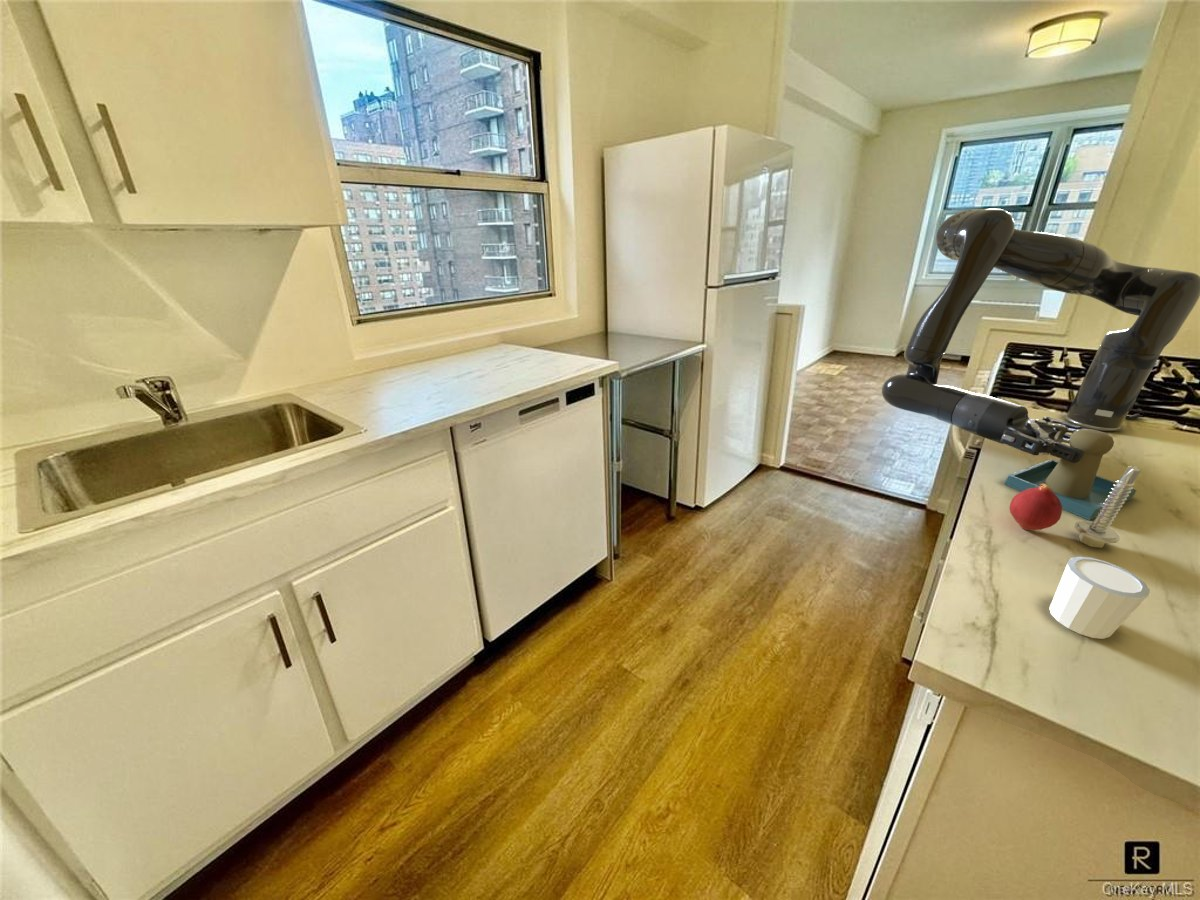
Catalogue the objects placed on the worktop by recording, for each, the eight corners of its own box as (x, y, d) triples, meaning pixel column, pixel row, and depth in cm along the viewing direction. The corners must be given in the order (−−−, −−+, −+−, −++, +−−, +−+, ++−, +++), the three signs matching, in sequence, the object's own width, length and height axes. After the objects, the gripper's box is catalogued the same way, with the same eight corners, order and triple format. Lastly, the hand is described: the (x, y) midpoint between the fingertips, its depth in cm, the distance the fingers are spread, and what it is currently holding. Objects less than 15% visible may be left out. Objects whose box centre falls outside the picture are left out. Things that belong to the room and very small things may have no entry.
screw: (1102, 556, 68) (1061, 537, 72) (1119, 547, 70) (1079, 529, 74) (1150, 477, 62) (1103, 461, 66) (1168, 470, 64) (1121, 454, 68)
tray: (1046, 467, 92) (1051, 458, 91) (1131, 499, 82) (1137, 489, 81) (1004, 484, 86) (1008, 475, 85) (1089, 520, 76) (1095, 510, 75)
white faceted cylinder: (1028, 600, 61) (1052, 557, 57) (1078, 597, 61) (1104, 554, 58) (1080, 645, 55) (1111, 599, 51) (1135, 641, 55) (1169, 595, 52)
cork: (1098, 500, 81) (1131, 441, 76) (1056, 496, 82) (1087, 438, 77) (1074, 482, 86) (1104, 426, 81) (1036, 478, 87) (1063, 423, 82)
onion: (1039, 522, 76) (1062, 478, 72) (1057, 544, 71) (1082, 498, 67) (996, 515, 77) (1016, 472, 74) (1010, 536, 73) (1032, 490, 69)
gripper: (973, 405, 88) (1083, 440, 75) (1016, 393, 94) (1125, 424, 81) (959, 441, 92) (1061, 481, 79) (1001, 428, 97) (1104, 463, 84)
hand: (1094, 452), depth 80 cm, fingers open, 8 cm apart
